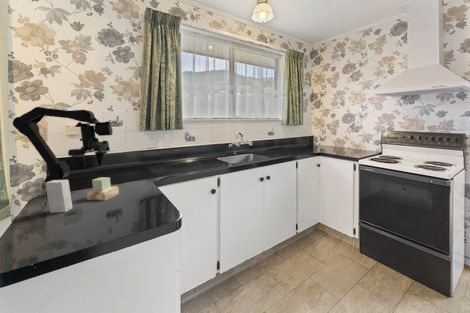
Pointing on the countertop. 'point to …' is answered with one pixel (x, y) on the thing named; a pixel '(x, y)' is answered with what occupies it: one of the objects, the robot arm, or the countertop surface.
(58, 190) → the skincare box
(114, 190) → the maple block
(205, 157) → the countertop surface
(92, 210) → the countertop surface
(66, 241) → the countertop surface
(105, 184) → the sage cube
